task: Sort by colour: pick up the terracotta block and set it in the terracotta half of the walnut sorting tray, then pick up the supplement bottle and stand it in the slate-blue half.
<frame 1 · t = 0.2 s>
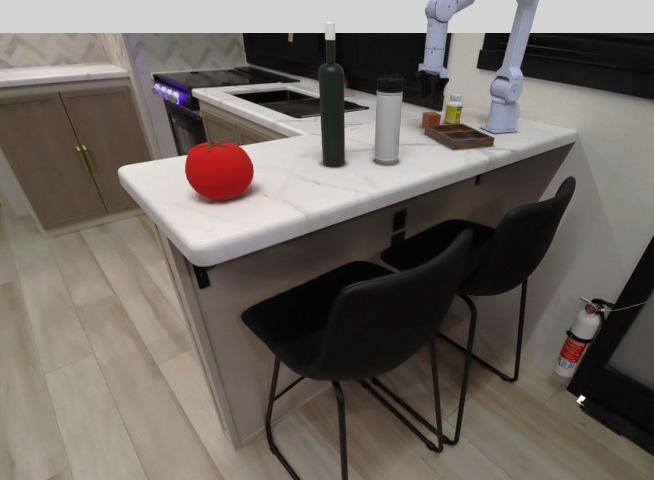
hand: (429, 101, 117), 10 cm above the table, tool pointing down, fingers open, 7 cm apart
travel mug: (386, 162, 101), on the table
sorting tray: (457, 139, 119), on the table
wine bottle: (333, 164, 98), on the table
terracotta block: (430, 127, 131), on the table
tomato: (225, 196, 80), on the table
supplement bottle: (451, 125, 134), on the table
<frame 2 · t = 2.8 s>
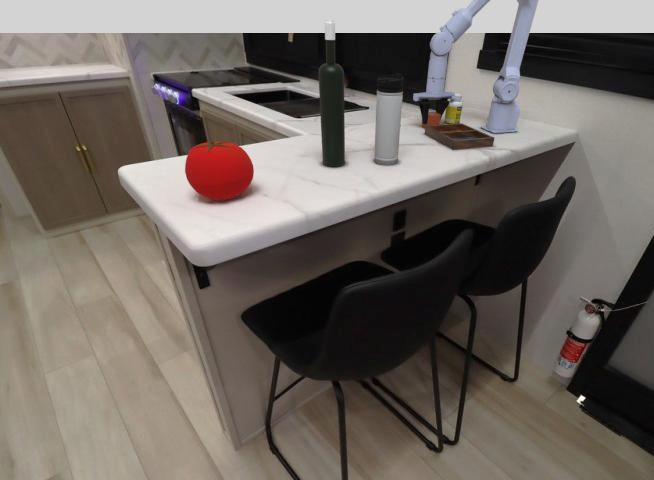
hand: (431, 123, 130), 1 cm above the table, tool pointing down, fingers closed on terracotta block, 4 cm apart
terracotta block: (430, 127, 131), on the table, touching gripper
everything else where it was.
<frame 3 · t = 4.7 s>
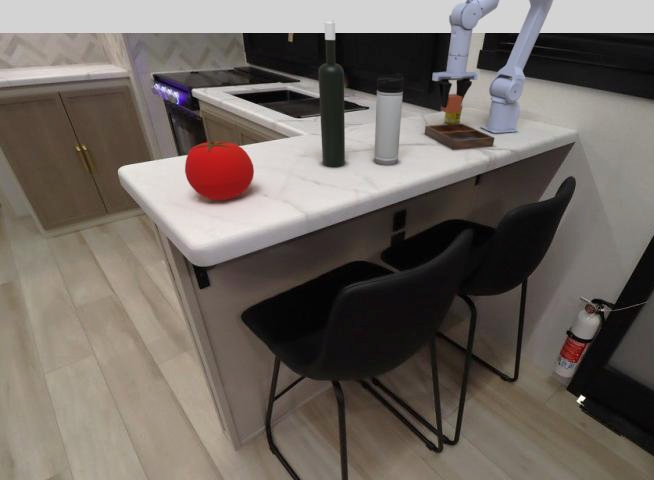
hand: (450, 106, 119), 8 cm above the table, tool pointing down, fingers closed on terracotta block, 4 cm apart
terracotta block: (450, 111, 119), point 7 cm above the table, touching gripper
everything else where it was.
when the fingers open (2 cm above the table, at t = 6.9 s): terracotta block stays where it is, resting on sorting tray.
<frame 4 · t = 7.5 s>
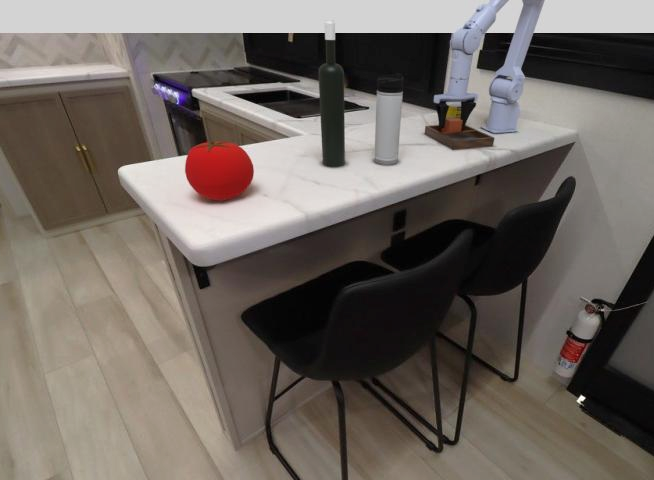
hand: (451, 127, 121), 3 cm above the table, tool pointing down, fingers open, 7 cm apart
terracotta block: (450, 134, 122), point 1 cm above the table, touching sorting tray
everything else where it was.
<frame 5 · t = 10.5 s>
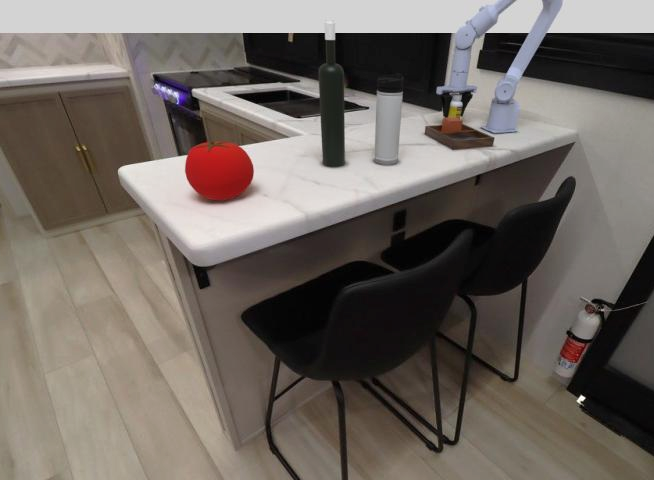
hand: (452, 116, 132), 3 cm above the table, tool pointing down, fingers closed on supplement bottle, 5 cm apart
supplement bottle: (451, 125, 134), on the table, touching gripper
everything else where it was.
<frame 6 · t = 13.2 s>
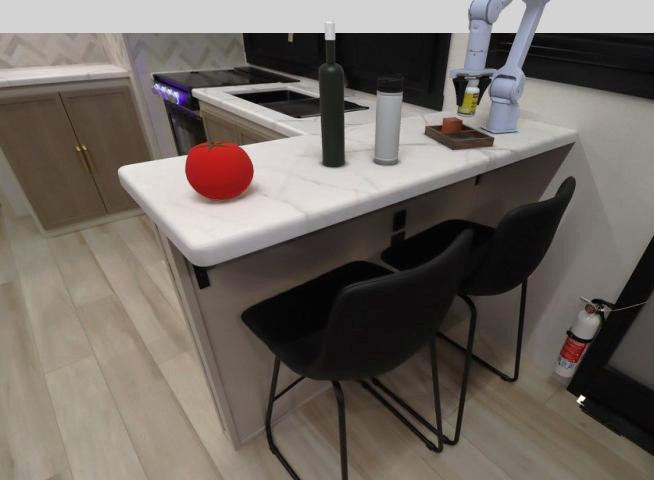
hand: (467, 105, 113), 10 cm above the table, tool pointing down, fingers closed on supplement bottle, 5 cm apart
supplement bottle: (465, 116, 115), point 7 cm above the table, touching gripper
everything else where it was.
when the fingers open (4 cm above the table, at t = 16.0 s): supplement bottle stays where it is, resting on sorting tray.
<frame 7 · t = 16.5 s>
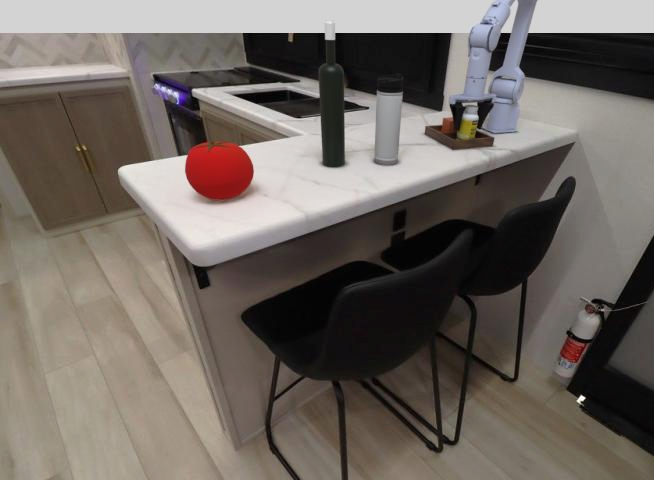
hand: (467, 129, 113), 4 cm above the table, tool pointing down, fingers open, 7 cm apart
supplement bottle: (464, 141, 116), point 1 cm above the table, touching sorting tray
everything else where it was.
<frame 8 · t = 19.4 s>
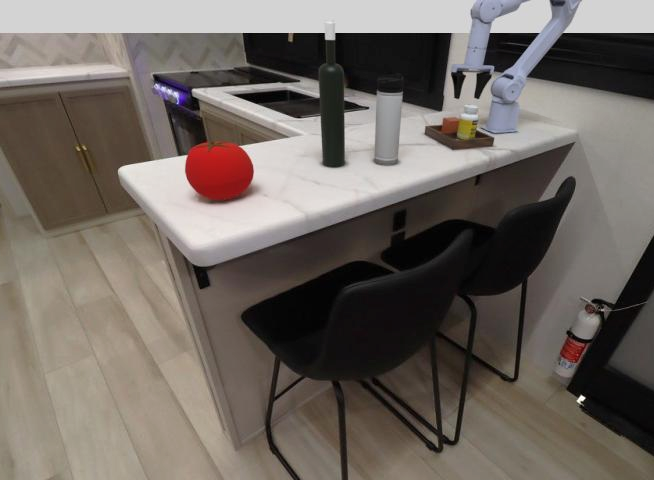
hand: (466, 98, 122), 10 cm above the table, tool pointing down, fingers open, 7 cm apart
nothing on the table moved.
at the end: terracotta block inside the target area on the sorting tray (0.1 cm from its centre), point 0.7 cm above the sorting tray's base; supplement bottle inside the target area on the sorting tray (0.0 cm from its centre), point 0.5 cm above the sorting tray's base; supplement bottle tilted 0° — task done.
